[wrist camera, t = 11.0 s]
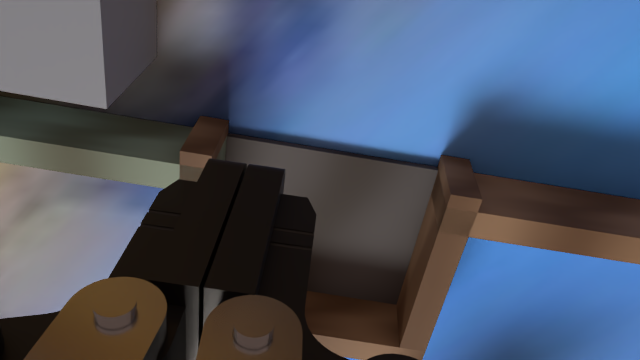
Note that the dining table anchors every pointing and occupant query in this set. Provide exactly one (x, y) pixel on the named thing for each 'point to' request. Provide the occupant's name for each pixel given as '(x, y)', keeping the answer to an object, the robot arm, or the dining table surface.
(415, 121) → the dining table surface
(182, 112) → the dining table surface
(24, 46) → the block
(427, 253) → the wooden maze tray
